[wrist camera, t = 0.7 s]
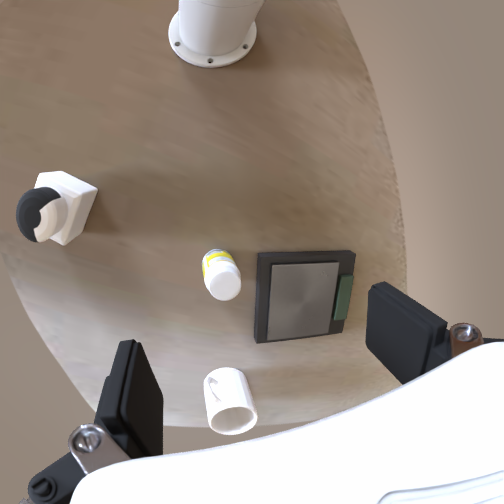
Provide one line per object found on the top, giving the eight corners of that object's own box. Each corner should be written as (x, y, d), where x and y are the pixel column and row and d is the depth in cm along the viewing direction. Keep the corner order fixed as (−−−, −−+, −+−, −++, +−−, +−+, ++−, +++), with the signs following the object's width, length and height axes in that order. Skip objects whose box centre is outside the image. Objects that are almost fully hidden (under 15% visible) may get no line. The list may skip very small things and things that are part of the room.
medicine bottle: (45, 214, 35) (4, 233, 24) (60, 170, 34) (19, 174, 23) (82, 233, 37) (48, 259, 26) (99, 188, 36) (67, 199, 25)
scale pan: (270, 263, 43) (272, 265, 42) (337, 260, 45) (339, 262, 44) (265, 338, 46) (266, 340, 46) (326, 330, 49) (328, 333, 48)
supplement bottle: (222, 283, 44) (230, 309, 36) (195, 269, 43) (198, 293, 35) (239, 257, 44) (251, 279, 36) (212, 242, 42) (218, 261, 34)
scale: (257, 253, 44) (262, 259, 41) (350, 250, 47) (359, 255, 45) (253, 337, 48) (257, 347, 46) (337, 327, 52) (344, 335, 49)
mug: (222, 345, 48) (230, 384, 38) (253, 386, 52) (266, 422, 43) (182, 365, 47) (184, 405, 38) (218, 403, 52) (225, 440, 42)
